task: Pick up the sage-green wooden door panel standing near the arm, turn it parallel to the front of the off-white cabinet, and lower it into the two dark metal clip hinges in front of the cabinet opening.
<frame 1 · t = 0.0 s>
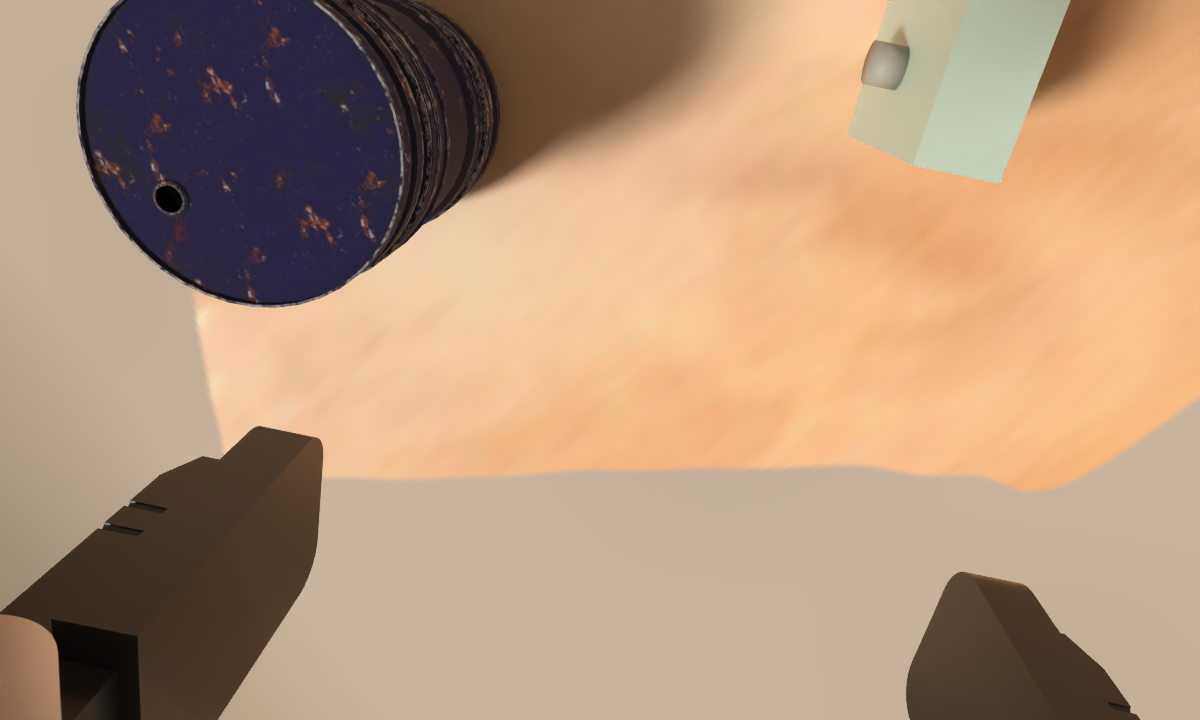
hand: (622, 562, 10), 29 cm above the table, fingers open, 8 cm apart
dark blue barrel: (399, 110, 37), on the table
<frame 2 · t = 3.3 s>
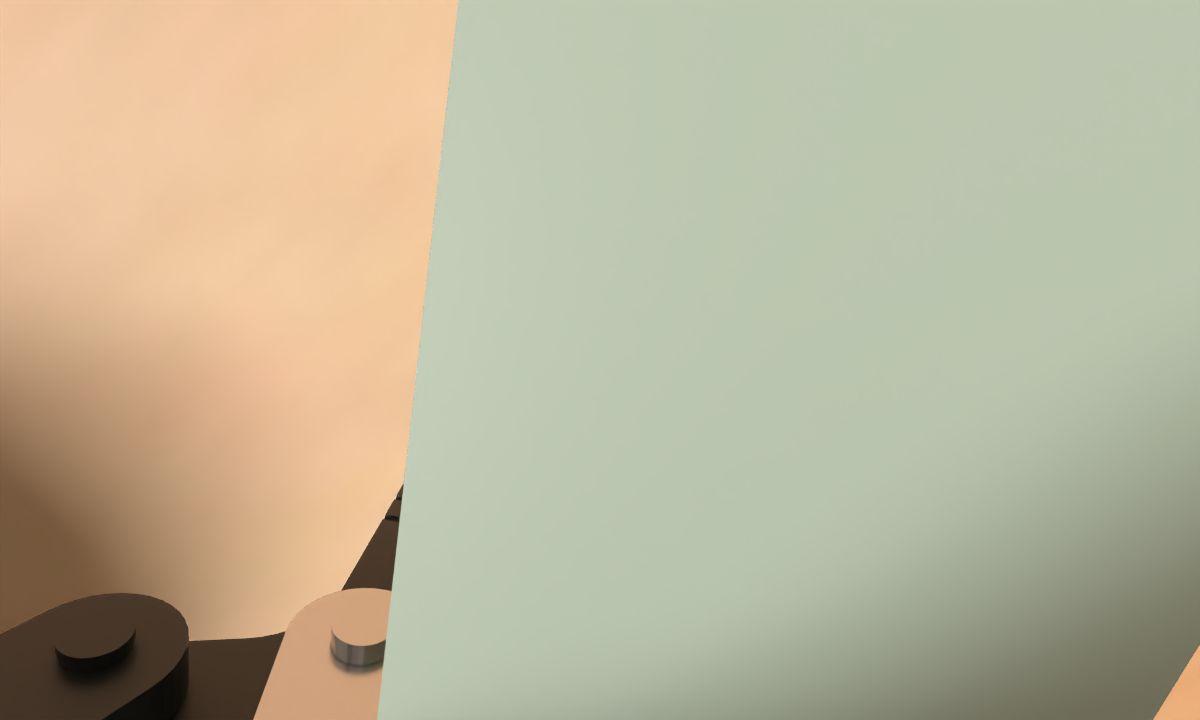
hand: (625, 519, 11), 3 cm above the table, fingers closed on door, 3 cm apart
door: (634, 416, 14), on the table, touching gripper
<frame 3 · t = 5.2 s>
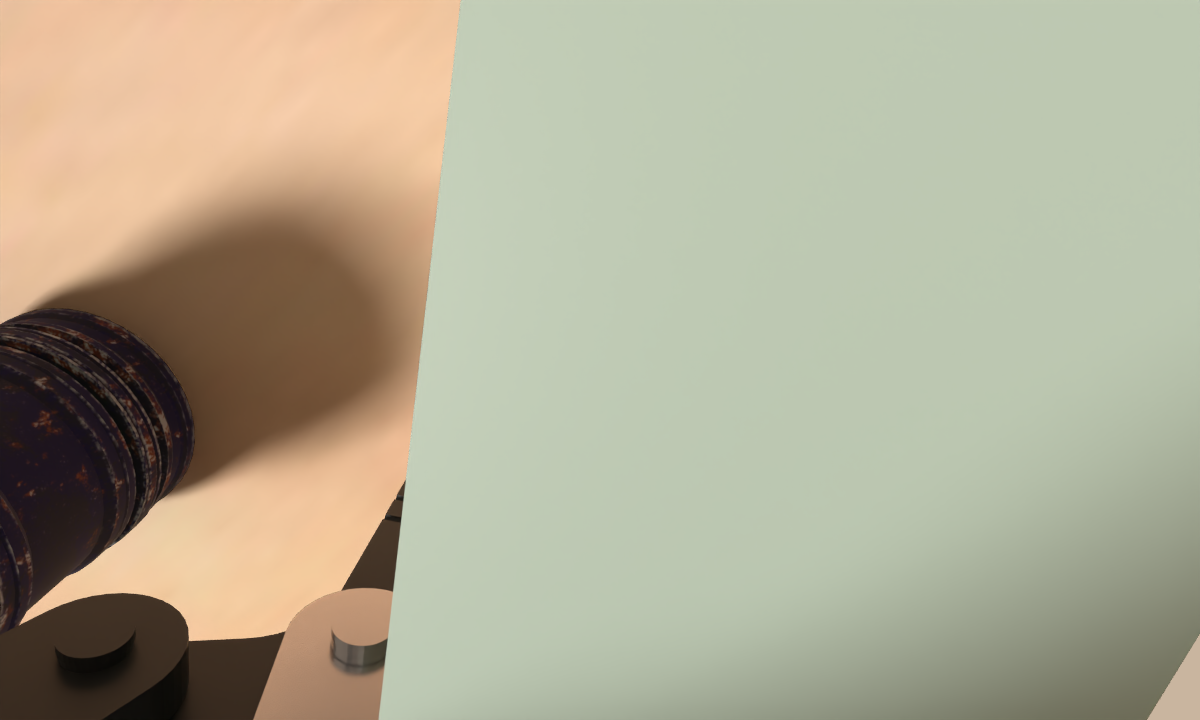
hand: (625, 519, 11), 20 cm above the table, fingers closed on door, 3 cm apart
door: (634, 417, 14), point 17 cm above the table, touching gripper
dark blue barrel: (89, 412, 34), on the table
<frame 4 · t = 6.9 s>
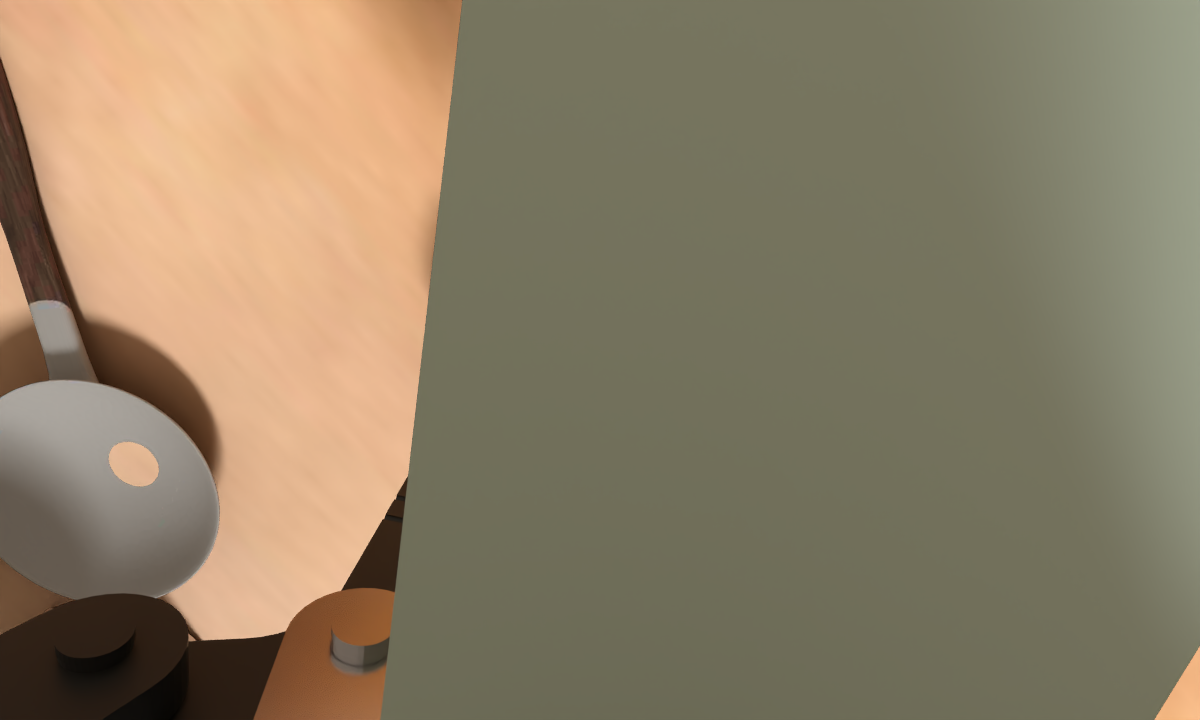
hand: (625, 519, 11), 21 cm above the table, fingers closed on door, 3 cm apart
door: (634, 420, 14), point 18 cm above the table, touching gripper
spoon: (53, 231, 33), on the table
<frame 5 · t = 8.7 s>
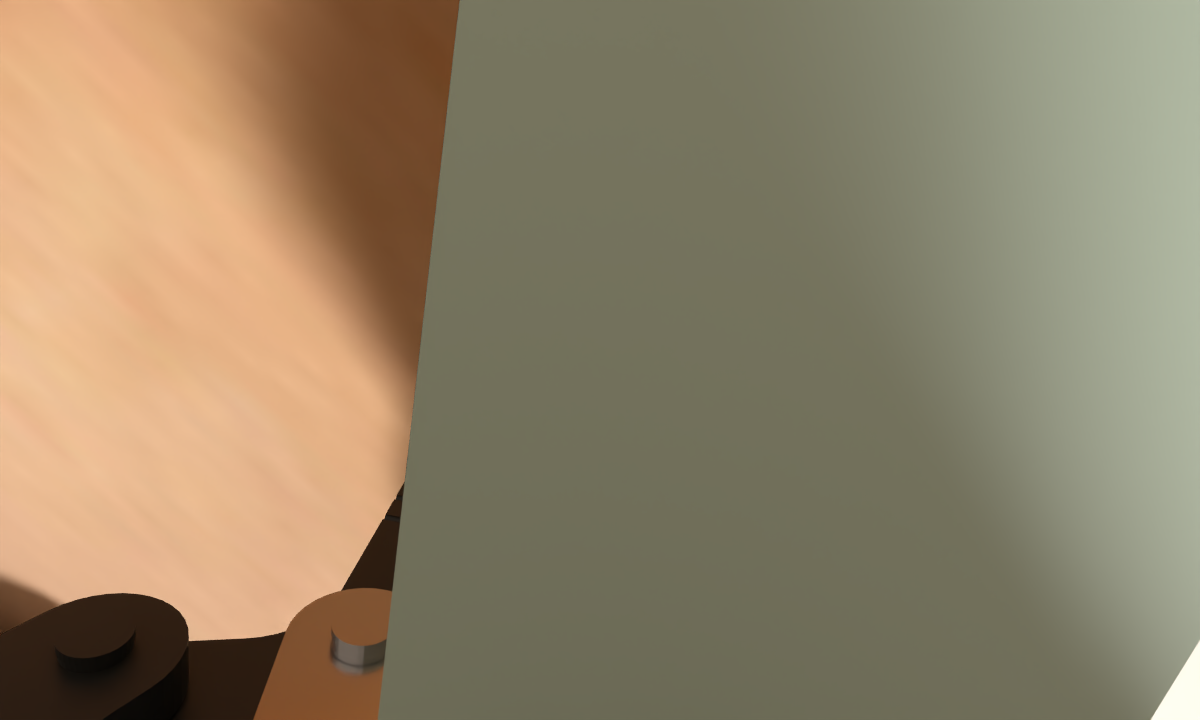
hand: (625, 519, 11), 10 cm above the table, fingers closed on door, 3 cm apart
cabinet: (1008, 374, 20), on the table
door: (634, 418, 14), point 7 cm above the table, touching gripper
when the fingers open (4 cm above the table, at t = 10.3 s): door drops 1 cm, on the table.
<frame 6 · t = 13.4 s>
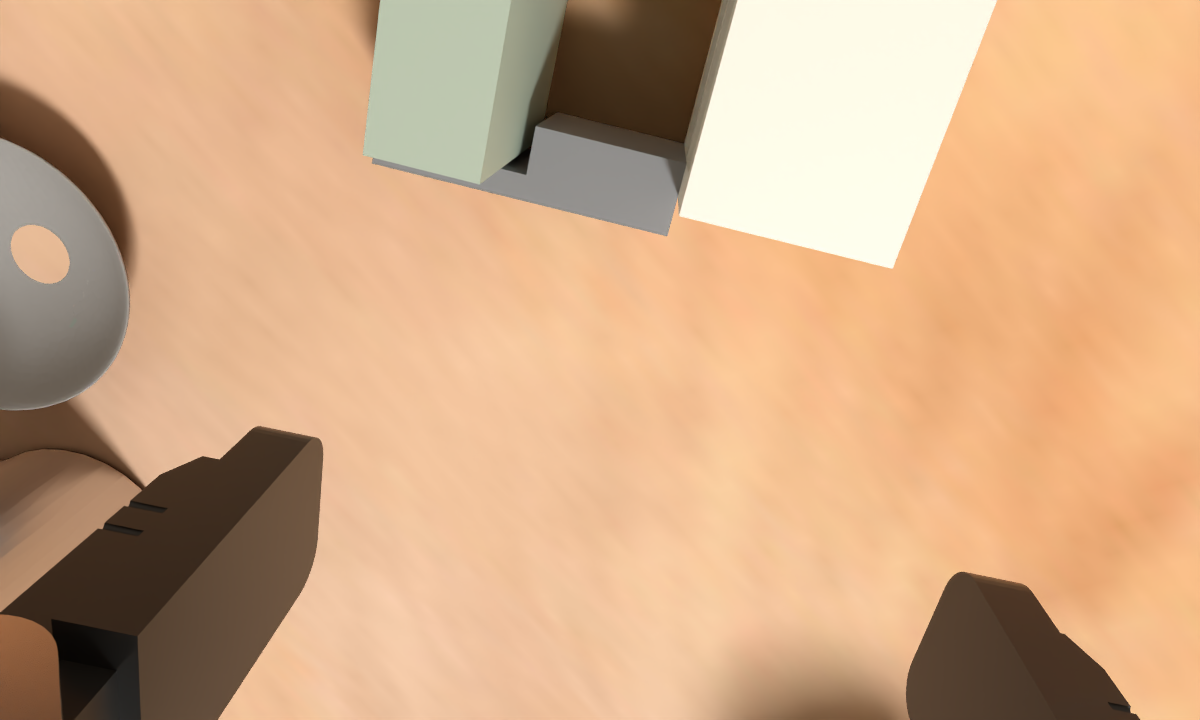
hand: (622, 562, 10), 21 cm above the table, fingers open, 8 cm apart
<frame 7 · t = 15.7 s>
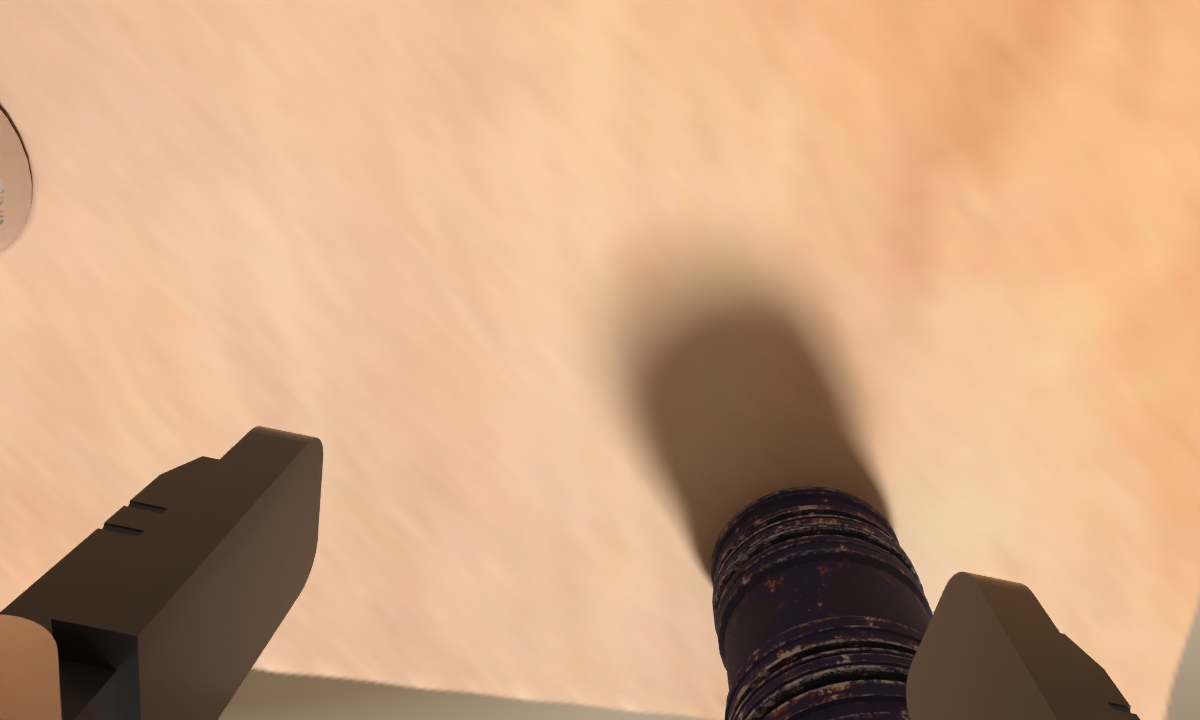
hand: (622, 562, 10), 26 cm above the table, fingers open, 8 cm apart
dark blue barrel: (804, 565, 41), on the table
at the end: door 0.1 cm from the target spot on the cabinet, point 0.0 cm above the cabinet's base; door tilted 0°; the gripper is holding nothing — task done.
